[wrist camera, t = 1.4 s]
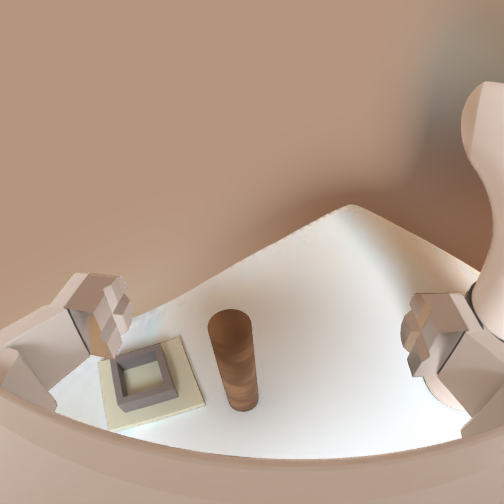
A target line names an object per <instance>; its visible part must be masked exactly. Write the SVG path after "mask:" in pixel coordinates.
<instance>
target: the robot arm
mask: <svg viewBox="0 0 504 504" xmlns="http://www.w3.org/2000/svg"><path fill="white" fill-rule="evenodd" d="M461 134H462V140H463V145H464V148H465V151H466V154H467V156H468V158H469V160H470V162H471V164H472V165H473V166H474V168H475V170H476V171H477V173H478V174H479V176H480V178H481V180H482V182H483V184H484V186H485V188H486V190H487V193H488V196H489V200H490V204H491V208H492V215H493V235H492V241H491V245H490V248H489V252H488V255H487V258H486V260H485V263H484V266H483V268H482V271H481V273H480V275H479V277H478V280H477V281H476V282H475V283H473V285H472V286H471V287H470V289H469V291H468V292H467V293H466V295H465V297H463V295H462V294H460V293H459V292H447V293H416V294H415V295H414V296H413V297H412V300H411V302H410V306H411V309H412V310H411V311H410V312H409V313H407V314H406V315H405V317H404V319H403V322H402V324H401V333H400V334H401V341H402V344H403V347H404V348H405V349H406V350H407V351H408V352H410V353H409V356H408V358H407V360H408V364H409V367H410V370H411V373H412V377H422V376H424V379H425V381H426V384H427V386H428V388H429V389H430V391H431V392H432V394H433V395H434V396H435V397H436V398H437V399H438V400H439V401H440V402H441V403H443V404H444V405H446V406H447V407H450V408H452V409H455V410H459V411H467V412H468V413H469V415H470V416H471V417H472V419H471V420H469V421H468V422H467V423H466V424H465V425H464V426H463V428H462V429H461V435H462V438H460V439H457V440H453V441H449V442H445V443H441V444H436V445H432V446H427V447H422V448H417V449H412V450H406V451H400V452H393V453H386V454H379V455H370V456H361V457H349V458H333V459H267V458H251V457H239V456H229V455H220V454H212V453H205V452H198V451H192V450H186V449H181V448H175V447H170V446H165V445H160V444H156V443H151V442H147V441H143V440H139V439H135V438H131V437H127V436H124V435H120V434H117V433H113V432H110V431H107V430H103V429H100V428H97V427H94V426H91V425H88V424H85V423H82V422H80V421H77V420H74V419H71V418H69V417H66V416H64V415H61V414H59V413H56V412H55V410H56V407H57V403H56V401H55V399H54V398H53V397H52V396H51V395H50V393H49V392H48V391H49V390H50V389H51V388H52V387H54V386H55V385H56V384H57V383H58V382H60V381H61V380H62V379H63V378H64V377H65V376H67V375H68V374H69V373H70V372H71V371H73V370H74V369H75V368H76V367H77V366H79V365H80V364H81V363H82V362H83V361H85V360H86V359H87V358H88V357H89V356H90V355H95V356H100V357H105V358H110V359H115V357H116V354H117V352H118V350H119V348H120V346H121V344H122V339H121V335H122V334H124V333H125V332H127V331H128V329H129V327H130V325H131V322H132V316H133V311H132V305H131V301H130V299H128V297H127V296H126V295H125V294H124V292H125V290H126V284H125V281H124V279H123V278H121V277H120V276H112V275H104V274H97V273H88V272H77V273H75V274H74V275H73V276H72V278H71V279H70V280H69V281H68V282H67V284H66V285H65V286H64V287H63V289H62V290H61V291H60V292H59V294H58V295H57V296H56V298H55V299H54V301H53V302H52V303H51V304H50V305H45V306H43V307H41V308H39V309H37V310H35V311H34V312H32V313H30V314H28V315H27V316H25V317H23V318H21V319H20V320H18V321H16V322H14V323H13V324H11V325H9V326H7V327H6V328H4V329H2V330H1V331H0V504H504V84H503V83H496V82H488V81H486V82H483V83H482V84H480V85H479V86H478V87H476V88H475V90H474V91H473V92H472V93H471V94H470V96H469V97H468V99H467V101H466V103H465V106H464V109H463V112H462V118H461Z"/></svg>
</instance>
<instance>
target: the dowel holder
mask: <svg viewBox="0 0 504 504" xmlns="http://www.w3.org/2000/svg"><path fill="white" fill-rule="evenodd" d="M98 368H99V376H100V384H101V391H102V397H103V403H104V409H105V415H106V420H107V425H108V430H109V431H110V432H116V431H120V430H124V429H128V428H132V427H136V426H140V425H144V424H147V423H151V422H154V421H158V420H161V419H165V418H168V417H171V416H175V415H178V414H181V413H184V412H187V411H190V410H193V409H196V408H199V407H202V406H205V403H204V400H203V398H202V395H201V393H200V390H199V388H198V385H197V383H196V380H195V377H194V375H193V372H192V370H191V367H190V364H189V362H188V359H187V356H186V353H185V351H184V348H183V345H182V342H181V340H180V337H178V338H175V339H172V340H169V341H165V342H162V343H158V344H155V345H152V346H149V347H146V348H142V349H139V350H136V351H133V352H129V353H126V354H123V355H119V356H116V357H115V359H107V360H103V361H100V362H98Z"/></svg>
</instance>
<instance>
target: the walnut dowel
mask: <svg viewBox="0 0 504 504" xmlns="http://www.w3.org/2000/svg"><path fill="white" fill-rule="evenodd" d="M208 332H209V336H210V339H211V343H212V347H213V350H214V354H215V357H216V361H217V364H218V368H219V371H220V375H221V378H222V382H223V385H224V388H225V392H226V395H227V398H228V401H229V404H230V406H231V407H232V408H233V409H235V410H237V411H241V412H244V411H249V410H251V409H253V408H254V407H255V406H256V405H257V403H258V388H257V378H256V368H255V357H254V347H253V336H252V326H251V320H250V318H249V317H248V316H247V315H246V314H245V313H244V312H242V311H239V310H234V309H228V310H223V311H220V312H218V313H217V314H215V315H214V316H213V317H212V318H211V319H210V321H209V323H208Z"/></svg>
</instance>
